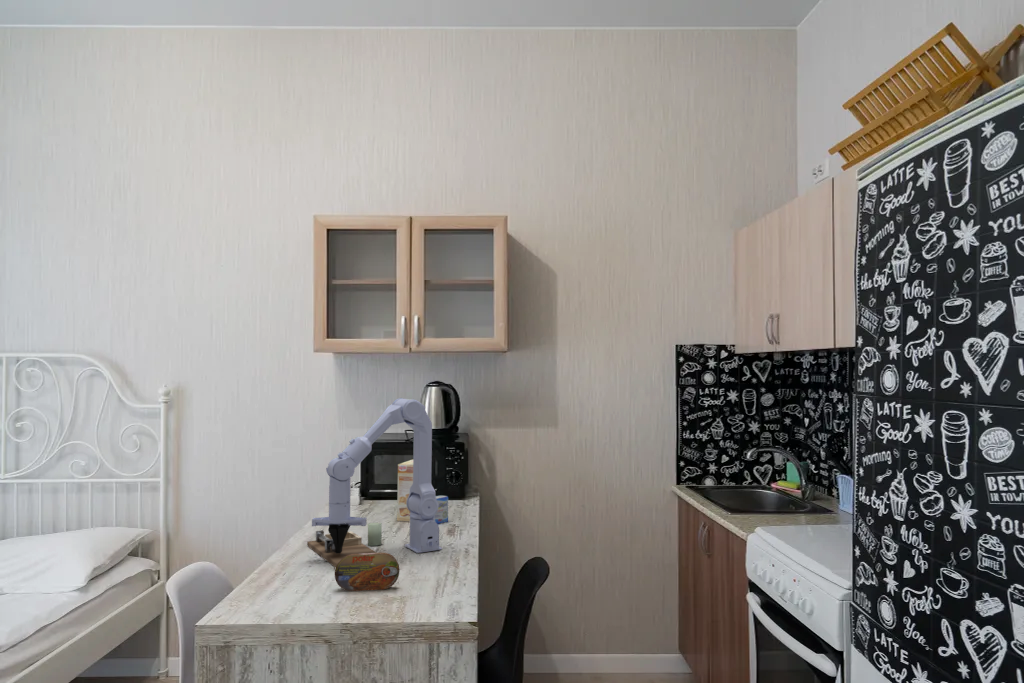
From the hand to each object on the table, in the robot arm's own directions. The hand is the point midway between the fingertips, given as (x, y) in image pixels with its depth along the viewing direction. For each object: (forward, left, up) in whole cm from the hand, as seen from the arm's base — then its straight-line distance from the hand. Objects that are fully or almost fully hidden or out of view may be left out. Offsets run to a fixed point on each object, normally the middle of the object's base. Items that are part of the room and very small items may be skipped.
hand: (338, 552), depth 190 cm
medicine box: (+28, -43, -2) cm, 51 cm away
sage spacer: (+11, -14, -2) cm, 18 cm away
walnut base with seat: (+5, -3, -2) cm, 7 cm away
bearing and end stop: (+11, 0, -1) cm, 11 cm away
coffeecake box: (+40, -40, -2) cm, 57 cm away
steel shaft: (+10, 0, -1) cm, 10 cm away
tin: (-28, +2, -2) cm, 28 cm away
